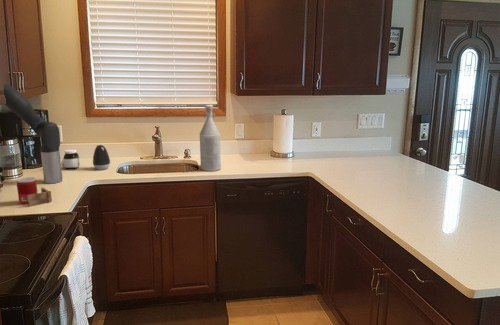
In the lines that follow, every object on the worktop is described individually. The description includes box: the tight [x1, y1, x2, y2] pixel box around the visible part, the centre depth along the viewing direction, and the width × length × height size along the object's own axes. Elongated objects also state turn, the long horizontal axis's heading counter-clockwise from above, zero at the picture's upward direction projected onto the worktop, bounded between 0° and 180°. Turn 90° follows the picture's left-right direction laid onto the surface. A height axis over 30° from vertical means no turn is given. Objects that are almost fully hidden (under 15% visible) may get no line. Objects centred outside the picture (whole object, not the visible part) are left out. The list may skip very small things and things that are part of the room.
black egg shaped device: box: [92, 144, 111, 171], centre depth 256 cm, size 10×10×15 cm
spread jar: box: [60, 149, 81, 170], centre depth 259 cm, size 12×11×12 cm
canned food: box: [16, 176, 39, 205], centre depth 192 cm, size 8×8×11 cm
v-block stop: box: [27, 187, 53, 207], centre depth 193 cm, size 13×7×5 cm, turn 179°
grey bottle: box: [199, 104, 222, 172], centre depth 254 cm, size 13×17×40 cm
